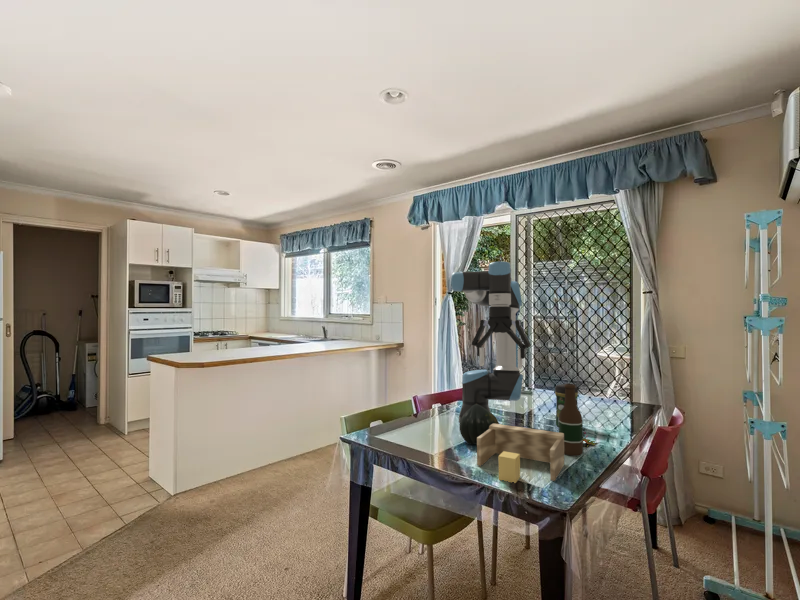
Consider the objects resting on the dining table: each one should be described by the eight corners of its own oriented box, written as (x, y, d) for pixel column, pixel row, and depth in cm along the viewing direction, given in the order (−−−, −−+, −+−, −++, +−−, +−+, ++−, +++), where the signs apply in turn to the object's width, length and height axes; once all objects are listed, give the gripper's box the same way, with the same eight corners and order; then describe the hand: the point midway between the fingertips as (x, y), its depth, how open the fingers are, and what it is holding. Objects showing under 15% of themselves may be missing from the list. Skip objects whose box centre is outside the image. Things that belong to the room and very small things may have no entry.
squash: (490, 438, 146) (496, 400, 155) (450, 433, 153) (459, 398, 163) (499, 456, 155) (505, 419, 164) (462, 451, 162) (469, 416, 171)
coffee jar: (565, 422, 186) (565, 381, 187) (582, 426, 180) (581, 383, 180) (552, 426, 181) (551, 383, 182) (568, 430, 174) (567, 386, 175)
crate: (477, 465, 134) (476, 434, 135) (493, 451, 148) (492, 423, 148) (554, 480, 122) (554, 446, 122) (564, 463, 136) (563, 433, 136)
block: (498, 479, 123) (498, 456, 123) (503, 474, 127) (503, 451, 128) (515, 483, 121) (515, 459, 121) (520, 477, 125) (519, 454, 125)
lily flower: (588, 451, 149) (588, 438, 150) (558, 443, 159) (558, 431, 159) (605, 444, 157) (605, 432, 157) (575, 437, 166) (575, 425, 166)
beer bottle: (571, 457, 142) (570, 387, 142) (554, 450, 149) (553, 383, 150) (588, 454, 145) (586, 385, 146) (570, 447, 152) (569, 382, 153)
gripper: (462, 306, 148) (463, 365, 148) (533, 305, 135) (534, 370, 135) (470, 306, 155) (470, 363, 154) (539, 305, 142) (539, 368, 141)
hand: (500, 367), depth 144 cm, fingers open, 13 cm apart
